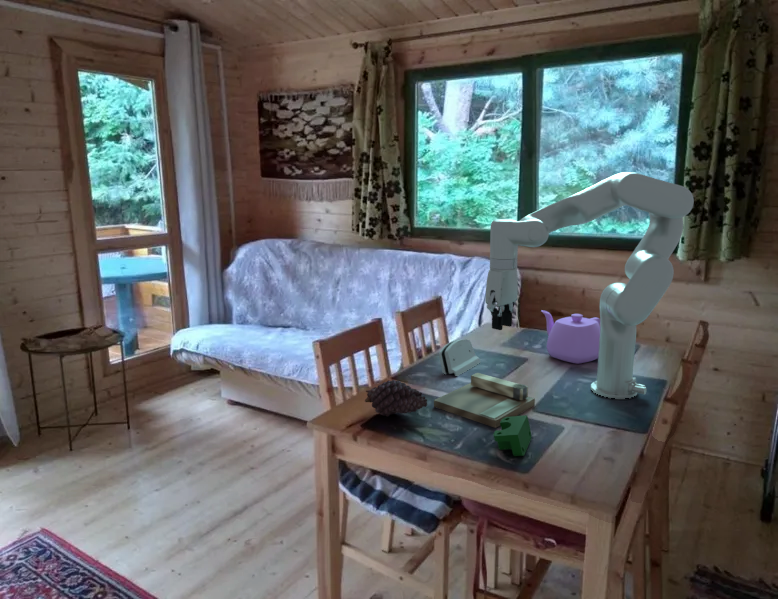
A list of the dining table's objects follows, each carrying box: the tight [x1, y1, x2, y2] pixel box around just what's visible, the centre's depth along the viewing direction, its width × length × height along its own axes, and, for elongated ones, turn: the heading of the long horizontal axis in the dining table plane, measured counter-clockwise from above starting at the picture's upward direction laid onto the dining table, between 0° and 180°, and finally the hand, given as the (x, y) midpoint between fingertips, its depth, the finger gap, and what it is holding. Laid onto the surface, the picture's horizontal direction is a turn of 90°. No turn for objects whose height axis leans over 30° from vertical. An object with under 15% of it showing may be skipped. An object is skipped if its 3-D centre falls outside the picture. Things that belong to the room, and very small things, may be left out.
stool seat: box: [433, 382, 536, 429], centre depth 161 cm, size 20×19×2 cm
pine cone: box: [364, 379, 428, 418], centre depth 154 cm, size 18×10×10 cm, turn 68°
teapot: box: [540, 309, 600, 365], centre depth 201 cm, size 23×21×15 cm
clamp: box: [492, 414, 532, 457], centre depth 138 cm, size 12×6×9 cm, turn 151°
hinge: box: [438, 339, 482, 377], centre depth 191 cm, size 17×5×10 cm, turn 144°
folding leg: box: [470, 372, 529, 400], centre depth 164 cm, size 17×4×3 cm, turn 47°
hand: (501, 326), depth 167 cm, fingers open, 4 cm apart
